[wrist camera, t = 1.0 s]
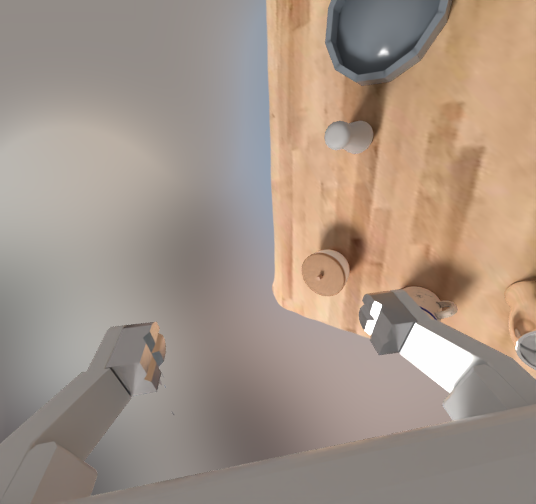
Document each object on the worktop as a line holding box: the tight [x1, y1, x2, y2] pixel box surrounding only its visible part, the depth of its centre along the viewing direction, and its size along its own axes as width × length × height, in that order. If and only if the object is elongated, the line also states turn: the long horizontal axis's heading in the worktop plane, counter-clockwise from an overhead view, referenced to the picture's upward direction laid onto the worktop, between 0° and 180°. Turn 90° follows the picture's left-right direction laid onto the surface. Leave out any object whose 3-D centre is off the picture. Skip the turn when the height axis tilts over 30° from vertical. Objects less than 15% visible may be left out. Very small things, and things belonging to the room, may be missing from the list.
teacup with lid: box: [402, 286, 458, 322], centre depth 45 cm, size 12×9×12 cm
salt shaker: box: [325, 120, 373, 154], centre depth 42 cm, size 6×6×13 cm
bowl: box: [325, 0, 452, 86], centre depth 38 cm, size 18×18×4 cm
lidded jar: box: [302, 249, 350, 296], centre depth 57 cm, size 11×11×9 cm
